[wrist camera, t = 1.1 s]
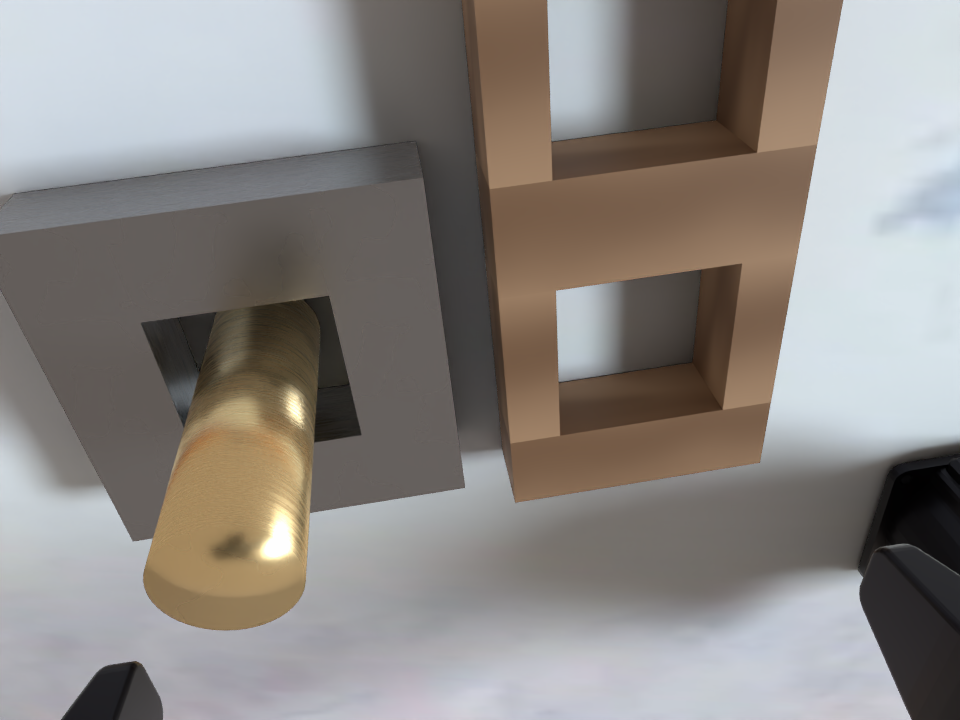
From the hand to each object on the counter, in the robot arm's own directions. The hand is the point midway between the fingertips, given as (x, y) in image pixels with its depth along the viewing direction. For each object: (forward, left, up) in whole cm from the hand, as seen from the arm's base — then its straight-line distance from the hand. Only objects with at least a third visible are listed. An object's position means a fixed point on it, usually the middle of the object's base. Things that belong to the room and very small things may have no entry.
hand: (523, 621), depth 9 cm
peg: (-4, +5, -14) cm, 15 cm away
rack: (-1, -5, -14) cm, 15 cm away
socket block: (-4, +5, -14) cm, 15 cm away
